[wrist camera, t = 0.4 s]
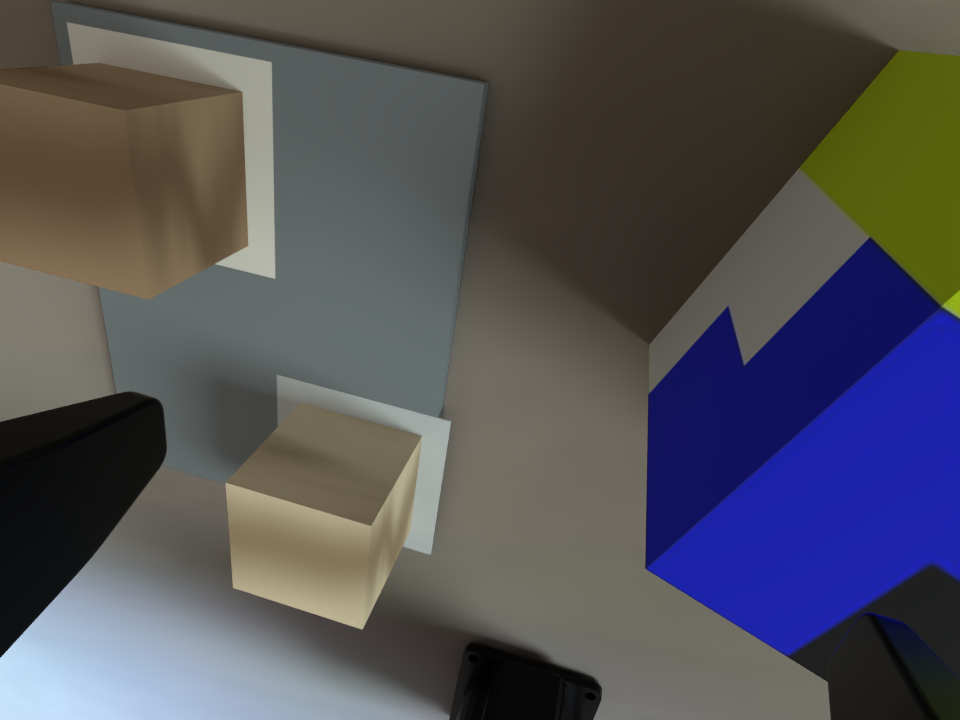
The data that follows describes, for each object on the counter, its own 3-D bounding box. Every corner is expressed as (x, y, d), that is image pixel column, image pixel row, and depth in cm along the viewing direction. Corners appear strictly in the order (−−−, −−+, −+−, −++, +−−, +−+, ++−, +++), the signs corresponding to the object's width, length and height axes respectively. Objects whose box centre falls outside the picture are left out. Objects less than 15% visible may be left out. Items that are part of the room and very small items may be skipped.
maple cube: (410, 531, 26) (362, 629, 22) (300, 498, 27) (233, 587, 23) (422, 436, 24) (371, 526, 19) (300, 402, 24) (225, 482, 20)
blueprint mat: (434, 544, 27) (430, 554, 27) (137, 455, 29) (128, 463, 29) (505, 85, 18) (501, 87, 17) (65, 1, 20) (49, 1, 19)
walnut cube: (248, 245, 22) (148, 299, 17) (120, 215, 22) (-5, 259, 18) (242, 91, 19) (124, 110, 15) (99, 62, 20) (-53, 72, 16)
